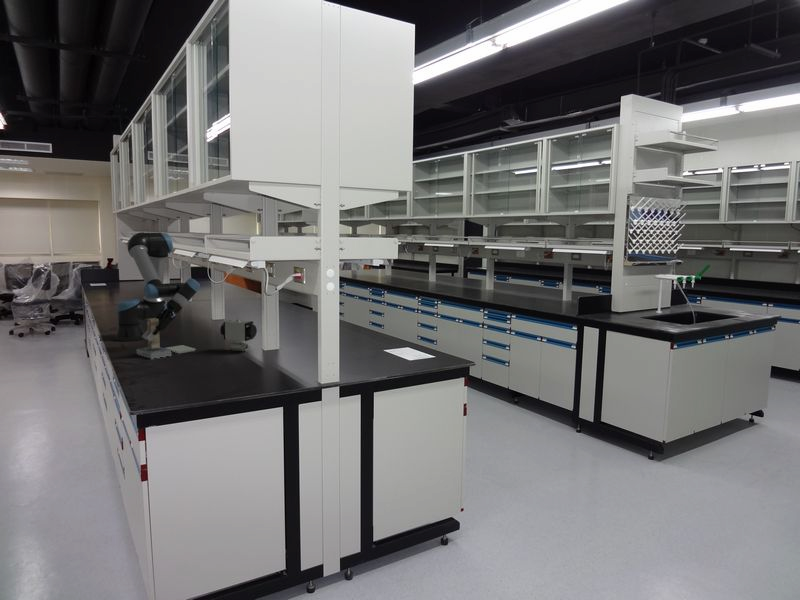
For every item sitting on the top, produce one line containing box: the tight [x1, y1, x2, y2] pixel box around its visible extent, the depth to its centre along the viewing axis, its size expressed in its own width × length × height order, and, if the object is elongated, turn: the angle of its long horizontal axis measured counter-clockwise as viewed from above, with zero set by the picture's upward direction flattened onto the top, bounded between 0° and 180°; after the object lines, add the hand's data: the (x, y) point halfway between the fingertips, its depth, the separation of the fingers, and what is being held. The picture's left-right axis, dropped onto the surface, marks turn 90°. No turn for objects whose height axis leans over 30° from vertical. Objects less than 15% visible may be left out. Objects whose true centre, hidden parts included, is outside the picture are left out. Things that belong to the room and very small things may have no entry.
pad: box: [164, 344, 197, 354], centre depth 277 cm, size 14×10×1 cm
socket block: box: [136, 346, 172, 360], centre depth 264 cm, size 16×10×3 cm, turn 50°
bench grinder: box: [219, 317, 258, 352], centre depth 277 cm, size 18×8×18 cm, turn 76°
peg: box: [146, 318, 161, 349], centre depth 263 cm, size 4×4×15 cm
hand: (146, 338), depth 260 cm, fingers closed on peg, 4 cm apart
